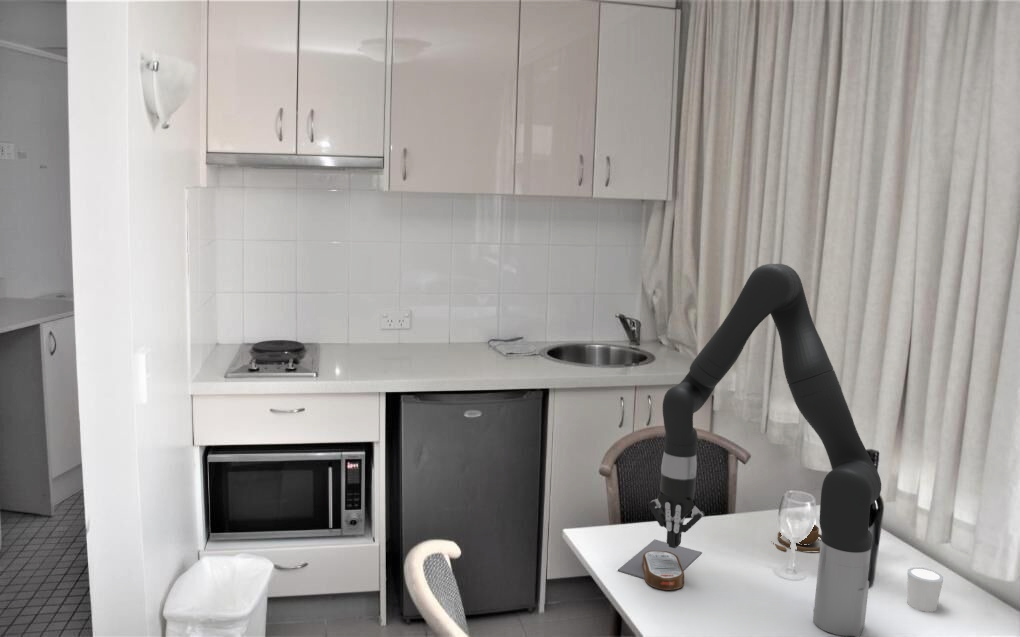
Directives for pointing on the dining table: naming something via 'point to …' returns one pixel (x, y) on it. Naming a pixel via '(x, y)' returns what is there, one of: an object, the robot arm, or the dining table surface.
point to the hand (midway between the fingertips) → (673, 546)
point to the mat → (683, 553)
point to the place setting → (809, 540)
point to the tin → (663, 570)
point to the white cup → (923, 588)
